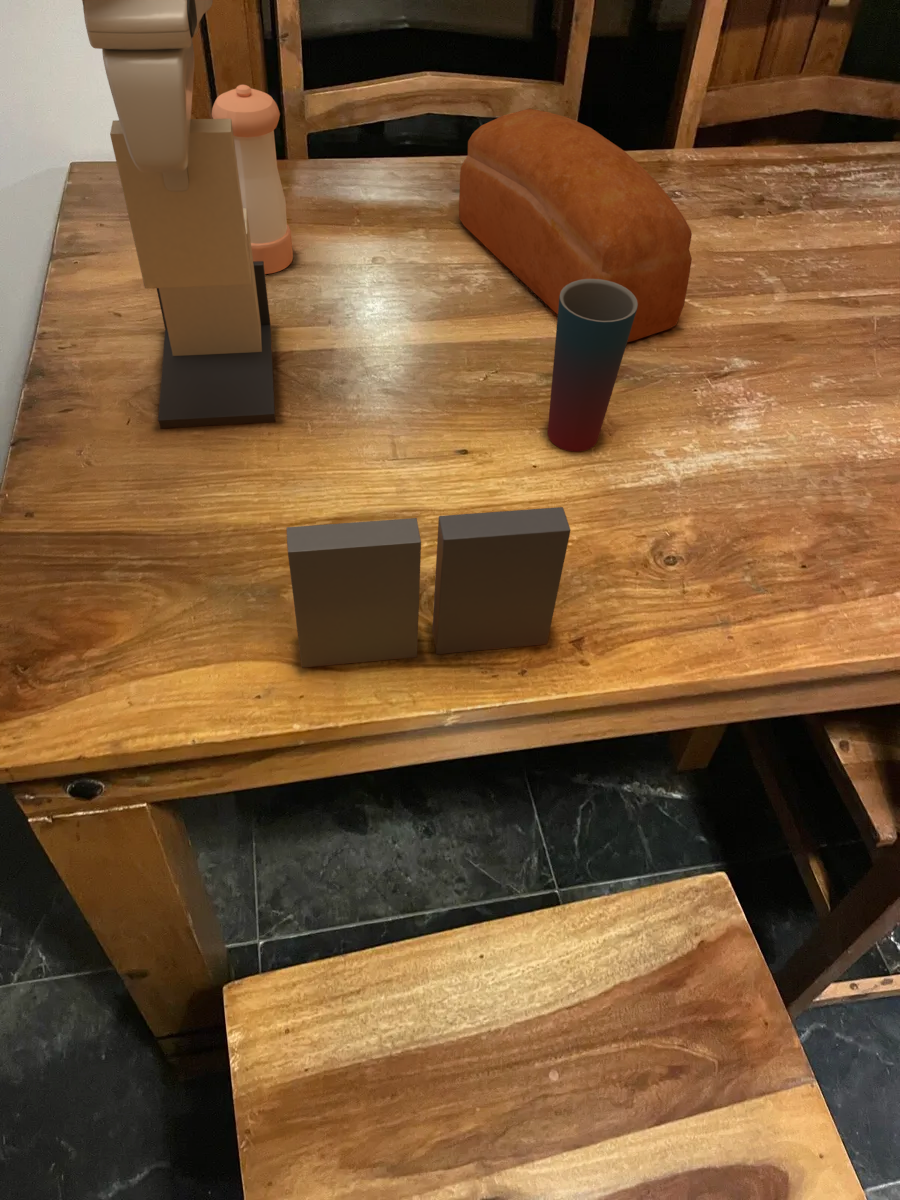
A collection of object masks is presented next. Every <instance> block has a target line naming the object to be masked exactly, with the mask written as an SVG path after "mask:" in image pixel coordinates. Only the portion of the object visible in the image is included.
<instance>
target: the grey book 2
mask: <svg viewBox="0 0 900 1200" xmlns="http://www.w3.org/2000/svg"><path fill="white" fill-rule="evenodd" d="M437 520H438V521H437V522H438V523H437V539H436V540H437V541H436V559H435V575H434V577H435V578H434V595H433V596H434V597H433V612H432V613H433V615H432V631H431V632H432V637H433V644H434V648H435V649H434V650H435V653H436V655H444V654H457V653H466V652H477V651H488V650H489V651H490V650H498V649H499V650H500V649H508V648H509V649H510V648H522V647H531V646H532V647H533V646H541V645H543V646H544V645H547V644H548V641H549V636H550V631H551V627H552V621H553V618H554V613H555V607H556V603H557V598H558V594H559V589H560V583H561V578H562V574H563V568H564V564H565V559H566V554H567V549H568V545H569V540H570V536H571V527H570V525H569V520H568V518H567V515H566V512H565V509H564V507H563V506H558V507H557V506H555V507H545V508H544V507H543V508H530V509H528V508H527V509H517V510H515V509H514V510H502V511H501V510H500V511H490V512H474V513H473V512H472V513H461V514H447V515H446V514H445V515H439V516H438V519H437Z"/></svg>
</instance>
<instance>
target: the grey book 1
mask: <svg viewBox="0 0 900 1200" xmlns="http://www.w3.org/2000/svg"><path fill="white" fill-rule="evenodd" d="M286 544H287V545H286V547H287V558H288V566H289V574H290V583H291V590H292V598H293V599H292V600H293V607H294V616H295V623H296V631H297V641H298V647H299V648H298V649H299V656H300V664H301V668H313V667H323V666H337V665H345V664H357V663H367V662H379V661H390V660H400V659H411V658H418V640H419V613H420V611H419V610H420V589H421V587H420V585H421V584H420V583H421V559H422V556H421V555H422V539H421V535H420V528H419V524H418V519H417V517H411V518H398V519H397V518H396V519H381V520H369V521H356V522H343V523H341V522H340V523H329V524H328V523H327V524H313V525H300V526H286Z"/></svg>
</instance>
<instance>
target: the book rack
mask: <svg viewBox="0 0 900 1200" xmlns="http://www.w3.org/2000/svg"><path fill="white" fill-rule="evenodd" d="M243 214H244V222H245V230H246V237H247V245H248V253H249V261H250V269H251V284H250V285H227V286H202V287H176V288H156V292H157V299H158V302H159V307H160V312H161V316H162V317H161V318H162V321H163V326H164V341H163V353H162V365H161V379H160V381H161V382H160V391H159V404H158V417H157V421H158V425H159V429H169V428H170V429H173V428H189V427H191V428H192V427H207V426H223V425H224V426H225V425H241V424H242V425H243V424H259V423H260V424H261V423H275V422H276V420H277V419H276V403H275V402H276V401H275V384H274V381H275V380H274V359H273V340H272V325H271V317H270V308H269V299H268V290H267V289H268V287H267V279H266V274H265V270H264V262H263V261H253V256H252V248H251V239H250V231H249V223H248V215H247V209H246V208H243Z"/></svg>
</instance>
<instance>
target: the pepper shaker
mask: <svg viewBox="0 0 900 1200" xmlns="http://www.w3.org/2000/svg"><path fill="white" fill-rule="evenodd" d="M280 116H281V112H280V110H279V106H278V104H277V102H276V101H275V99H273V97H272V95H270V94H268V93H266V92H264V91H261V90H259V89H256V88H251V87H250V86H249V85H247V84H239V85H237V86H236V88H233V89H230V90H227V91H225V92H223V93H221V94H219V95H218V96H217V97H216V99H215V101H214V103H213V105H212V108H211V117H212V119H231V120H232V128H233V136H234V144H235V151H236V159H237V167H238V175H239V183H240V190H241V198H242V206H243V208H246V209H247V215H248V223H249V231H250V239H251V248H252V256H253V261H263V262H264V270H265V275H267V274H269V275H270V274H274V273H278V272H280V271H283V270H285V269H286V268H288V267H289V266H290V265H291V264H292V262H293V259H294V252H293V242H292V241H293V240H292V230H291V228H290V225H289V224H288V222H287V205H286V204H287V203H286V197H285V192H284V189H283V185H282V181H281V177H280V173H279V172H280V171H279V169H278V160H277V151H276V140H275V129H277V128H278V127H277V126H278V124H279V120H280Z"/></svg>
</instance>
